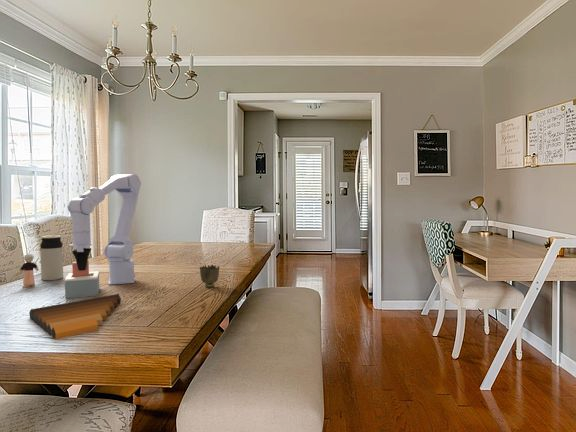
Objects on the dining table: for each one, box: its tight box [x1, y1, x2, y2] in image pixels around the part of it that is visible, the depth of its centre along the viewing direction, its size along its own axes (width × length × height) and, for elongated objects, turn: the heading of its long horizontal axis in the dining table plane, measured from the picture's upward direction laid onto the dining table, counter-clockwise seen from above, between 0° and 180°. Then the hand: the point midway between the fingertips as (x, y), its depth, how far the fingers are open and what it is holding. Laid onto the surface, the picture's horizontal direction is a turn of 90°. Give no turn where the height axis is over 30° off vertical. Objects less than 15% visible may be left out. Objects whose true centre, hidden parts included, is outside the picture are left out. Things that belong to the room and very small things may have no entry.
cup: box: [199, 264, 220, 289], centre depth 155 cm, size 8×7×8 cm
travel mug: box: [39, 234, 64, 281], centre depth 170 cm, size 8×8×18 cm
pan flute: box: [28, 293, 122, 340], centre depth 117 cm, size 25×3×25 cm
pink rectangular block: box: [71, 260, 90, 277], centre depth 145 cm, size 5×3×5 cm, turn 112°
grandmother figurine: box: [18, 253, 40, 288], centre depth 157 cm, size 8×4×13 cm, turn 168°
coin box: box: [64, 270, 100, 299], centre depth 146 cm, size 10×12×6 cm
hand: (82, 269), depth 146 cm, fingers closed on pink rectangular block, 3 cm apart
